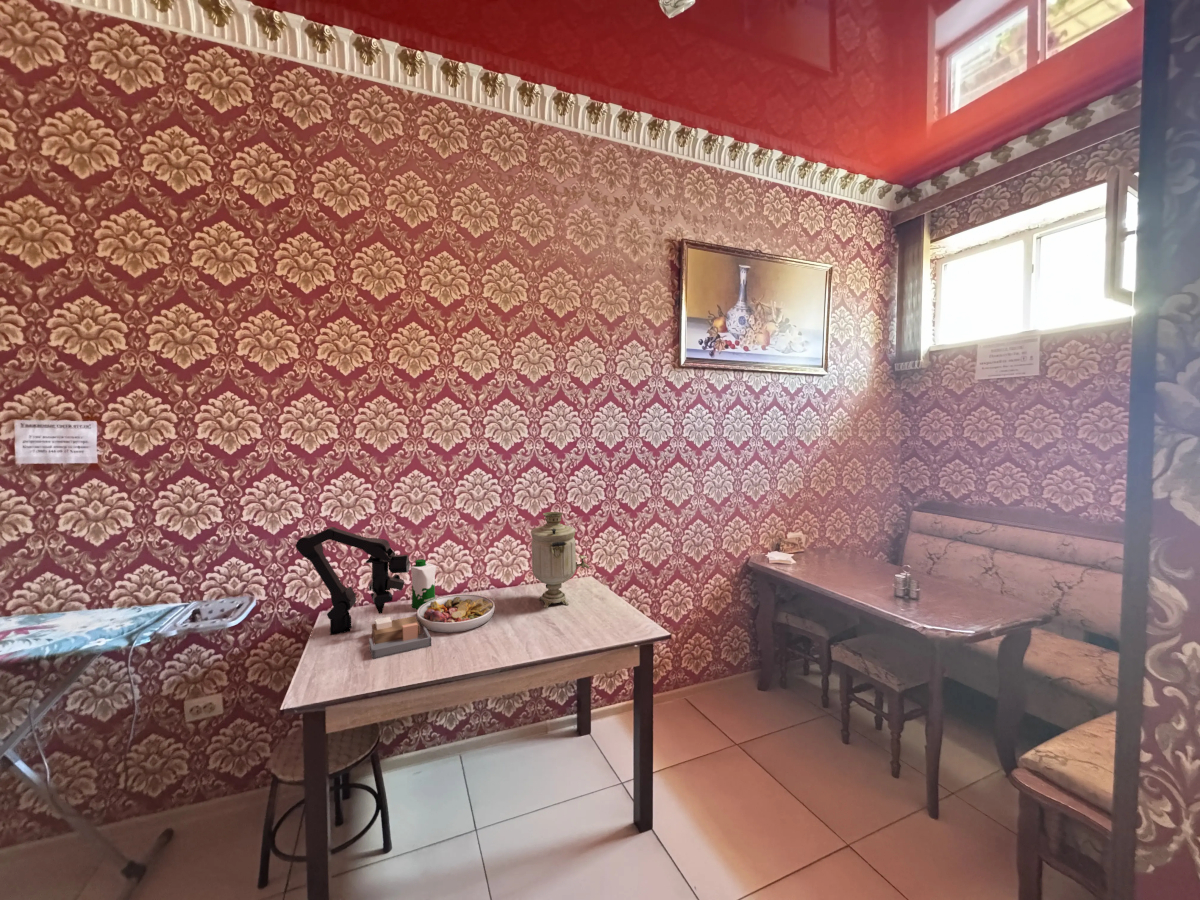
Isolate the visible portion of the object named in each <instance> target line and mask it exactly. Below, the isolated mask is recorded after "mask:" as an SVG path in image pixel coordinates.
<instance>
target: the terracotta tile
mask: <svg viewBox="0 0 1200 900" xmlns="http://www.w3.org/2000/svg"><path fill="white" fill-rule="evenodd" d="M415 638H418V624H417V623H412V624H407V625H402V639H403V641H406V640H411V639H415Z"/></svg>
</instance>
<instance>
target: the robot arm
mask: <svg viewBox="0 0 1200 900" xmlns="http://www.w3.org/2000/svg"><path fill="white" fill-rule="evenodd" d="M329 540H330V541H334V542H336V543H339V544H343V545H346V546H350V547H353V548H356V549H359V550H361V551H363V552H364V553H366V554H367V555H369V558H368V559H367V560H366V561H365V563H366V564H371V576H370V578H371V582H370V583H368V590H369V592H371V591H372V593H370V597H371V599H372V602H373V604H374V606H375V608H376V610H377V612H378V614H379V615H381V614H383V611H384V607H385V603H390V602H392V601H393V594H392V592H390V591H391V589H392V590H398V591H402V590H403V589H404V586H405V581H404V579H403V578H401V577H400V575H399V574H406V573H407V574H408V573H409V572H410V569H411V561H410V558H409V554H402V555H399V554H398V555H397V554H396V553H395V551H394V549H392V548H391V545H390V543H389V541H388V540H387V539H384V538H378V537H371V538H370V537H366V536H365V537H364V536H361V535H359V534H355V533H352V532H349V531H346V530H343V529H339V528H338V527H335V526H330V527H328V528H326V529H324V530H321V531H319V532H318V533H309V534H307V535H304V536H303V537H301V538H299V539H297V541H296V543H295V549H296V550H297V551H298V552H299V554H300V555H301V556H302V557H303V558H305V559H306V560H308V561H310V562H311V564H312V566H313V567H314V569H315V570H316V572H317V574H318V575H319V577H320V579H321V580H322V581H323V582H322V583H324V585H325V587H326V588H327V590H328V591H329V594H330V599H331V604H332V606H333V608H332V609H330V610H329V611H328V612H327V613H326V617H327V618H328V619H329V620H330V621H329V623H330V627H329V635H330V636H332V635H333V636H334V635H337V634H342V633H349V632H351V628H352V616H351V614H350V610H351V609H352V607H353V606H354V605H355V604H356V603H357V593H355V591H354V589H353V587H352V586H348V587H346V586H345V585H343V583H342V582H341V580H340V578H339V576H338V575H337V573H336V572H335V570H334V569H333V567H332V565H331V563H330V562H329V561H328V558H327V557H326V555H325V554H324V547H323V546H324V545H323V544H322V543H324V542H327V541H329ZM389 572H390V573H391V574H394V575H392V576H390V574H389Z"/></svg>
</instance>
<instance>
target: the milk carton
mask: <svg viewBox="0 0 1200 900" xmlns="http://www.w3.org/2000/svg"><path fill="white" fill-rule="evenodd" d="M437 567H438V566H437V565H435V564H433V563H429V562H426V559H424V558H423V559H422V558H421V559H420V558H419V559H416V560H415V565H412V566H411V565H410V572H411V573H410V574H411V609H414V610H417V611H418V609H419V608H420V607H421V606H422V605H423V604H425V603H426V602H428V601H431V600H433V599H436V571H437Z"/></svg>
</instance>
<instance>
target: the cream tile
mask: <svg viewBox="0 0 1200 900" xmlns="http://www.w3.org/2000/svg"><path fill="white" fill-rule="evenodd" d="M374 621H375V622H374V624H375V625H376V628H377V630H379V629H384V628H389V627H392V619H391V616H386V617H381V618H376V619H375V620H374Z"/></svg>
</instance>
